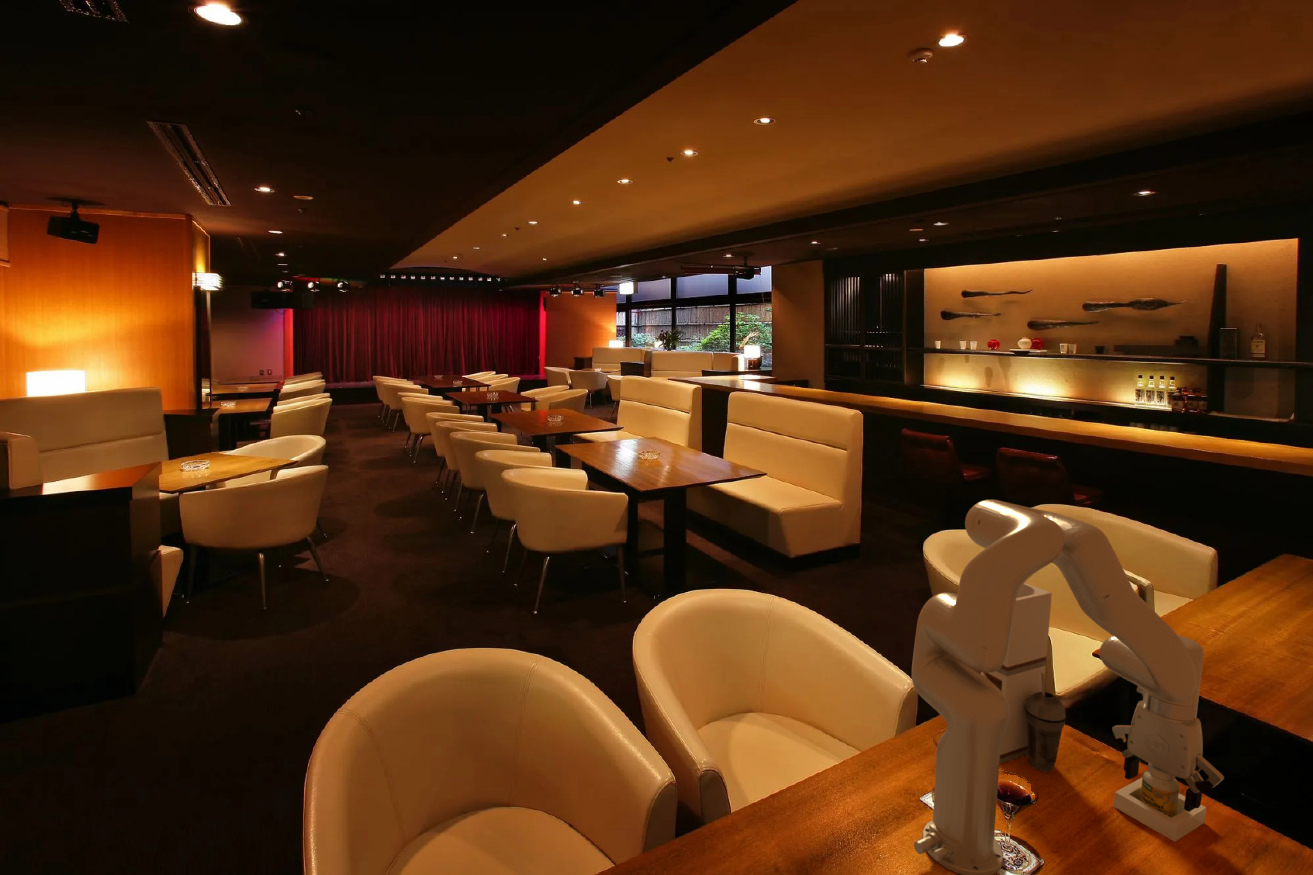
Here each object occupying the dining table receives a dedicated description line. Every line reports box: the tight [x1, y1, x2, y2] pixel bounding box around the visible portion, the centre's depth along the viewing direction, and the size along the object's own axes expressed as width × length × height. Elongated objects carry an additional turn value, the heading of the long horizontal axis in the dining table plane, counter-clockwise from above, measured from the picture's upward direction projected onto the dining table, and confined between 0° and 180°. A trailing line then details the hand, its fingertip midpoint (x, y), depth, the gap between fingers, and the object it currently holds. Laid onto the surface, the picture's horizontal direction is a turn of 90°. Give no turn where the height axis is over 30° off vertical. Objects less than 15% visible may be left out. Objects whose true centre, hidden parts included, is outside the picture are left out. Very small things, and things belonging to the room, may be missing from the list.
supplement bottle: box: [1140, 762, 1180, 818], centre depth 122 cm, size 5×5×10 cm
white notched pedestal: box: [980, 582, 1053, 765], centre depth 142 cm, size 11×11×35 cm
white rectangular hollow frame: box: [1113, 777, 1207, 843], centre depth 122 cm, size 10×10×3 cm
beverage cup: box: [1025, 673, 1067, 773], centre depth 135 cm, size 7×7×20 cm
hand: (1159, 792), depth 122 cm, fingers open, 9 cm apart
